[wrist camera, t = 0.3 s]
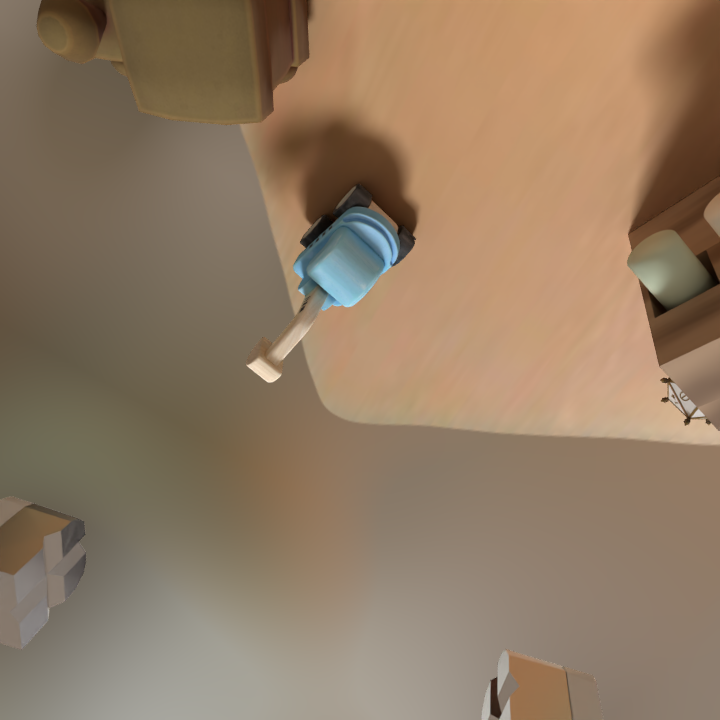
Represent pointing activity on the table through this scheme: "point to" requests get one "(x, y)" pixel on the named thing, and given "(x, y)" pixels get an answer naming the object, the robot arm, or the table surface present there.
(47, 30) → the wooden toy train
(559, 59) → the table surface
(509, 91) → the table surface
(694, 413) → the game die
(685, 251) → the sage button
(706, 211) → the cream button
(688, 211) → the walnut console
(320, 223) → the toy excavator
